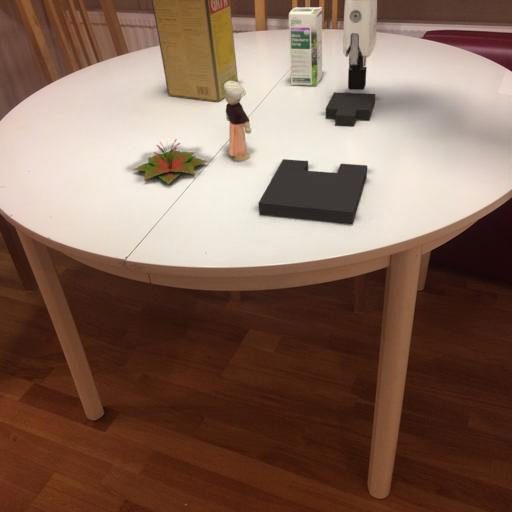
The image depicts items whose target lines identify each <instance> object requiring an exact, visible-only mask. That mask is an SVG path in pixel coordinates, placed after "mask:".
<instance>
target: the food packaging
mask: <svg viewBox="0 0 512 512" xmlns="http://www.w3.org/2000/svg"><path fill="white" fill-rule="evenodd" d="M151 5H152V11H153V16H154V22H155V27H156V32H157V39H158V44H159V50H160V54H161V60H162V61H161V62H162V66H163V72H164V78H165V84H166V89H167V94H168V96H169V97H175V98H181V99H182V98H183V99H191V100H198V101H206V102H207V101H209V102H216V103H219V102H221V101H222V100H223V99H225V93H226V91H225V89H224V84H225V83H226V82H228V81H235V82H238V83H239V78H238V68H237V58H236V49H235V38H234V29H233V18H232V8H231V7H232V6H231V5H232V4H231V0H151Z"/></svg>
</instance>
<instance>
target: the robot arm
mask: <svg viewBox="0 0 512 512" xmlns="http://www.w3.org/2000/svg"><path fill="white" fill-rule="evenodd" d="M343 9H344V10H343V36H342V45H343V46H342V49H343V50H342V51H343V52H342V53H343V55H344V57H346V58H348V70H347V71H348V75H347V76H348V77H347V89H348V90H350V91H364V90H365V88H366V85H367V84H366V83H367V58H369V57H371V55H372V53H373V52H374V49H375V47H376V44H377V23H378V21H377V18H378V0H344V8H343Z"/></svg>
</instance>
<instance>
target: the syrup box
mask: <svg viewBox="0 0 512 512" xmlns="http://www.w3.org/2000/svg"><path fill="white" fill-rule="evenodd" d="M288 37H289V54H290V55H289V57H290V85H291V86H313V87H317V85H318V84H319V83H320V81H321V79H322V77H323V7H322V6H318V7H317V6H316V7H310V6H309V7H299V6H297V7H296V6H295V7H294V8H292V9H291V10H290V11H289V13H288Z"/></svg>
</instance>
